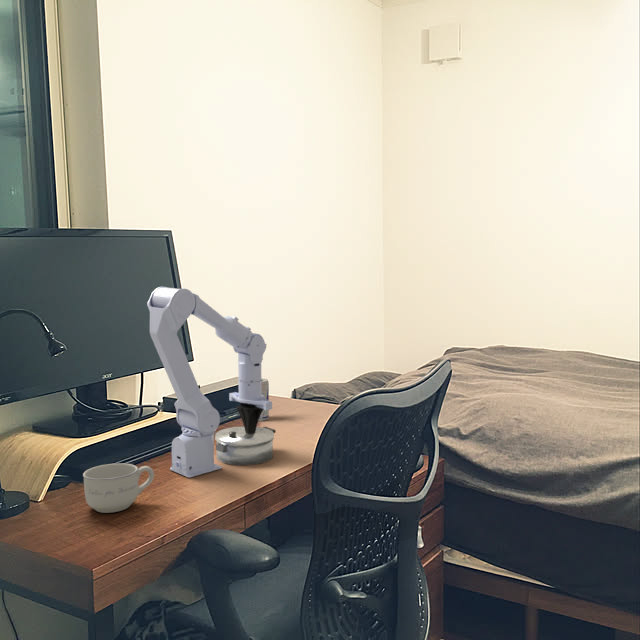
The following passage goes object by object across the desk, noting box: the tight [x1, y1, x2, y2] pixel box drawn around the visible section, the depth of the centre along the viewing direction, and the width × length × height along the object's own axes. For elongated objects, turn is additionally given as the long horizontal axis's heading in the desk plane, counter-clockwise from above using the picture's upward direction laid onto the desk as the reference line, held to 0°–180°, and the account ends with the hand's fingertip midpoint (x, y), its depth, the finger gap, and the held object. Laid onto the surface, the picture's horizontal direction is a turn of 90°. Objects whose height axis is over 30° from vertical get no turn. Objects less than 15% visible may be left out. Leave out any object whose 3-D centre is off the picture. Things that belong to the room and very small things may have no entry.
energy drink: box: [258, 377, 270, 422], centre depth 210 cm, size 5×5×12 cm
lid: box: [214, 425, 276, 447], centre depth 175 cm, size 16×15×2 cm
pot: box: [215, 439, 274, 466], centre depth 175 cm, size 15×14×4 cm
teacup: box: [82, 462, 155, 514], centre depth 142 cm, size 14×11×8 cm
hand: (250, 433), depth 176 cm, fingers closed, pressing on lid
